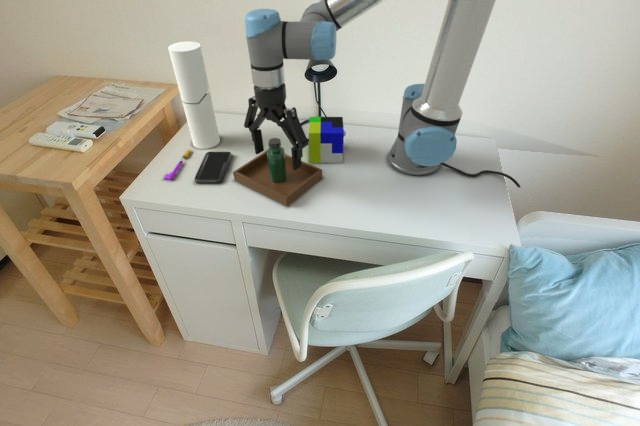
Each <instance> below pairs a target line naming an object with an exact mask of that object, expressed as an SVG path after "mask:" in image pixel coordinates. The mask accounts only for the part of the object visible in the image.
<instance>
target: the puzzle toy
mask: <svg viewBox="0 0 640 426" xmlns="http://www.w3.org/2000/svg"><path fill="white" fill-rule="evenodd" d="M344 138H345V131H344V118H343V116H309V124H308V142H309V144H308V155H309V157H308V158H309V164H343V163H344V143H345V142H344V140H345V139H344Z"/></svg>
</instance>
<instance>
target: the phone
mask: <svg viewBox="0 0 640 426" xmlns="http://www.w3.org/2000/svg"><path fill="white" fill-rule="evenodd" d="M232 157H233V155H232V152H231V151H207V152H206V153H205V155H204V157H203V159H202V161H201V163H200V166H199V168H198V169H197V172H196V174H195V176H194V181H195V183H196V184H199V185H201V184H203V185H204V184H205V185H206V184H212V185H215V184H216V185H217V184H218V185H219V184H221V183H223V182H224V179H225V177H226V174H227V171H228V168H229V165H230V163H231V160H232Z"/></svg>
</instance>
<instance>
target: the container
mask: <svg viewBox="0 0 640 426" xmlns="http://www.w3.org/2000/svg"><path fill="white" fill-rule="evenodd" d="M167 50H168V53H169V57H170V61H171V65H172V69H173V72H174V77H175V80H176V84H177V88H178V92H179V97H180V99H181V103H182V106H183V110H184V115H185V117H186V122H187V125H188V130H189V134H190V137H191V141H192V145H193V146H194V147H195V148H197V149H202V150H205V149H206V150H207V149H211V148H214V147H216V146H218V145H219V144H220V143H221V139H220V134H219V133H220V132H219V129H218V125H217V120H216V115H215V110H214V105H213V100H212V94H211V90H210V85H209V80H208V76H207V71H206V66H205V61H204V57H203V52H202V46H201V44H200V42H197V41H178V42H175V43H172V44H170V45H169V46H168V47H167Z"/></svg>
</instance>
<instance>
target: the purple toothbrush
mask: <svg viewBox="0 0 640 426" xmlns="http://www.w3.org/2000/svg"><path fill="white" fill-rule="evenodd" d="M190 153H191V148H189V149H187V150H186V151H185V153H183V155H182V159H181V160H179V161H178V163H177V164H176V166H175V167H174V169H173V170H172V171H171V172H169V173H167V174H166V175H165V176H164V177H163V179H164V180H169V181H172V180H173V179H174V178H175V176H176V174H177V173H178V171H179V169H180V168H181V166H183V162H184V160H186V159H187V158H188V157H189V155H190Z"/></svg>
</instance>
